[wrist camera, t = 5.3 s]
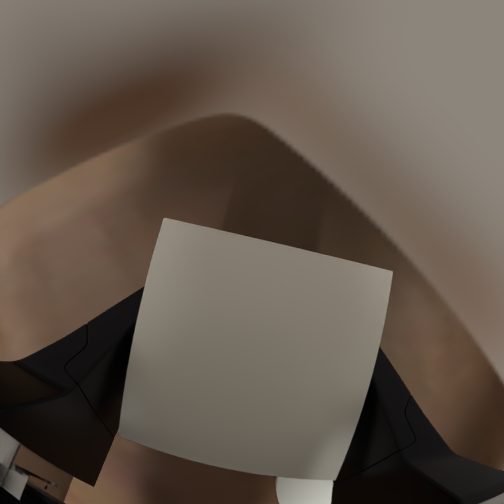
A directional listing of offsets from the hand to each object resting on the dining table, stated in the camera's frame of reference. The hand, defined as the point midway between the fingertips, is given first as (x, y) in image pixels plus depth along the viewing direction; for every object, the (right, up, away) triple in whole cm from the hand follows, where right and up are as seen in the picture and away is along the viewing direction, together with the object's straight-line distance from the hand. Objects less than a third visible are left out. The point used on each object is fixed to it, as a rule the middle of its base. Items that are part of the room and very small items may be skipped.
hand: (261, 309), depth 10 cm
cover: (0, -2, +6) cm, 7 cm away
